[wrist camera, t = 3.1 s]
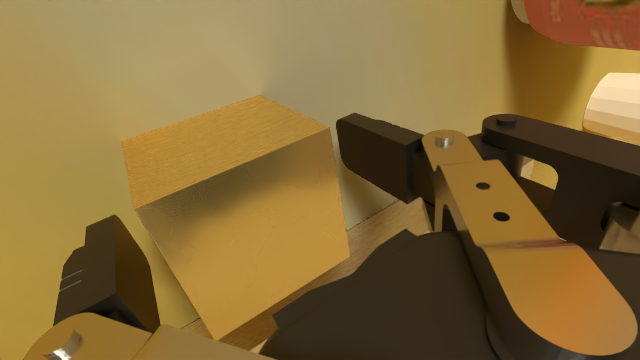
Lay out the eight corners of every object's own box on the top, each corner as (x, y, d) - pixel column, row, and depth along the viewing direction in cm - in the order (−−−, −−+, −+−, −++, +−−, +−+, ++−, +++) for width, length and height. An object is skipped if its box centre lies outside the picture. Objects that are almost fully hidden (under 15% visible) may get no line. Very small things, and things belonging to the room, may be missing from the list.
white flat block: (227, 422, 19) (244, 477, 17) (162, 340, 14) (174, 401, 12) (479, 234, 28) (512, 252, 26) (492, 145, 23) (534, 158, 21)
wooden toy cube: (181, 248, 13) (215, 341, 9) (121, 140, 10) (134, 209, 6) (286, 197, 15) (350, 256, 11) (258, 94, 12) (329, 127, 8)
